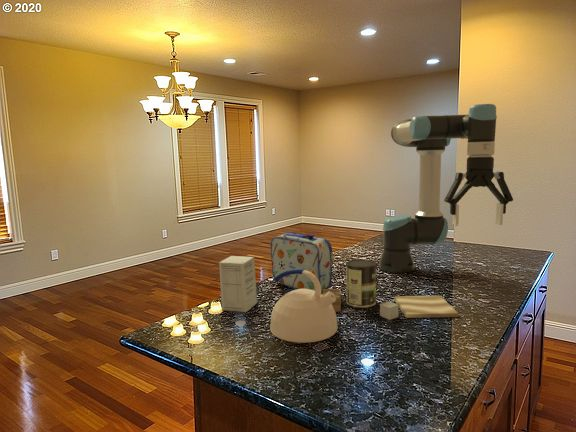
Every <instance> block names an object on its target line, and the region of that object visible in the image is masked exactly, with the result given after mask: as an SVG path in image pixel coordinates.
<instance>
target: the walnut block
mask: <svg viewBox="0 0 576 432" xmlns="http://www.w3.org/2000/svg"><path fill="white" fill-rule="evenodd" d="M332 293H333V294H334V295H335V297H336V301H335V302H333V303H332V306H333V308H334V311H335V313H337V312H341V311H342V310H341V305H342V300H341V301H340V296H339V295H337V294H336V293H335V292H332ZM321 294H322V295H323V296H324V295H325V294H327V293H324V294H323V293H321Z"/></svg>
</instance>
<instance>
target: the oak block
mask: <svg viewBox="0 0 576 432" xmlns="http://www.w3.org/2000/svg"><path fill="white" fill-rule="evenodd" d="M327 292H335V293H336V294H337V295H339V296H340V301H341V302H342V293H341V289H340V288H328V289H323V290H322V294H324V293H327Z"/></svg>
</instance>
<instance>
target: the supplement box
mask: <svg viewBox="0 0 576 432" xmlns="http://www.w3.org/2000/svg"><path fill="white" fill-rule="evenodd" d="M255 262H256V260H255V256H243V255H242V256H241V255H240V256H239V255H238V256H236V255H230V256H228V257H227V258H225V259H222V260H221V261H219V263H218V266H219V269H218V270H219V281H220V282H219V283H220V284H219V285H220V297H221V299H220V300H221V301H220V302H221V310H222V311H229V312H241V313H247V312H248V311H250V310H251V309H252V308H253V307H254V306H255V305H257V303H258V297H257V280H256V265H255V264H256V263H255Z"/></svg>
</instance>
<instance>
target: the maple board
mask: <svg viewBox="0 0 576 432" xmlns="http://www.w3.org/2000/svg"><path fill="white" fill-rule="evenodd" d="M394 301H395V304H397V305H399V309H400V310H401V312H402V314H403V315H404V317H405V318H406V319H408V318H409V319H416V318H420V319H421V318H422V317H425V318H459V312H458V311H457V310H456V309H455V308H454V307H453V306H452V305H451V304H449V302H447V301H446V299H445V298H444V297H443V296H441V295H405V296H403V295H401V296H399V295H397V296H394Z"/></svg>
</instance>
